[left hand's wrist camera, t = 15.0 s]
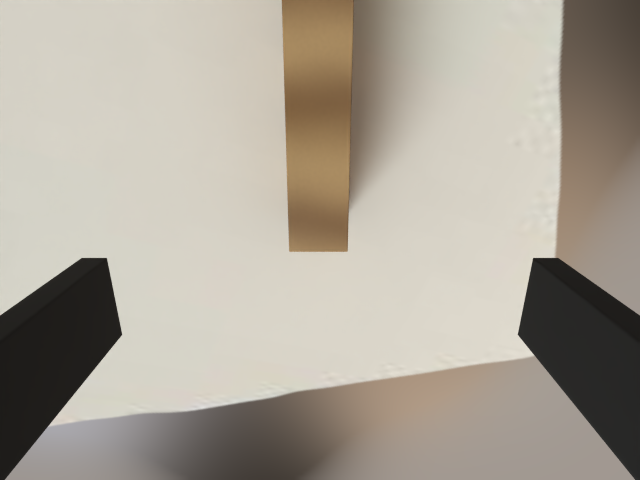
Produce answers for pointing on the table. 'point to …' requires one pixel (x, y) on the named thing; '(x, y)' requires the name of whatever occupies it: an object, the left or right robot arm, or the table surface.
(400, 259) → the table surface
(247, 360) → the table surface
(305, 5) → the beam
